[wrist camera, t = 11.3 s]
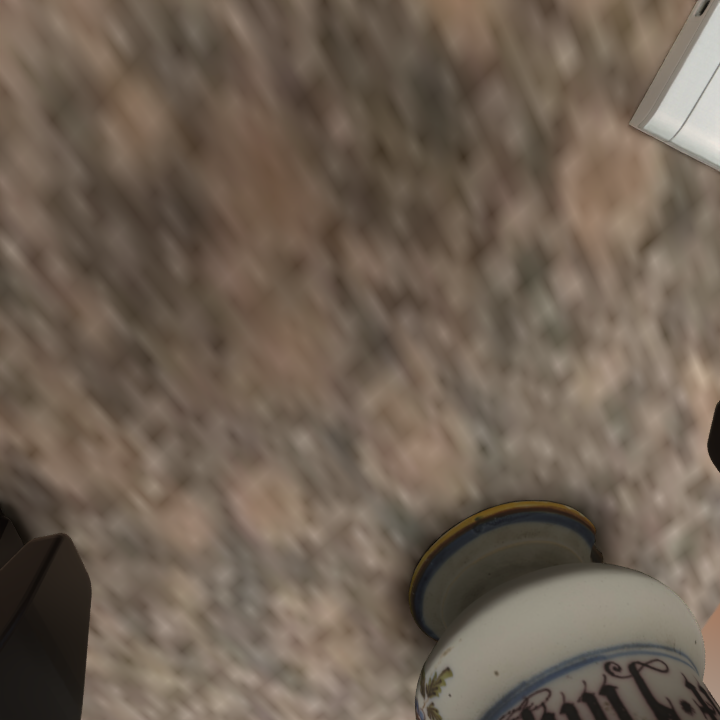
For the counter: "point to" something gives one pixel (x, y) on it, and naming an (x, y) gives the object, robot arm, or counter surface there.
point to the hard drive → (688, 90)
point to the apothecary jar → (550, 626)
